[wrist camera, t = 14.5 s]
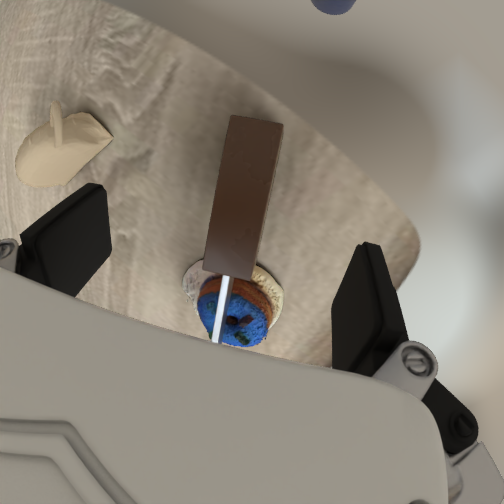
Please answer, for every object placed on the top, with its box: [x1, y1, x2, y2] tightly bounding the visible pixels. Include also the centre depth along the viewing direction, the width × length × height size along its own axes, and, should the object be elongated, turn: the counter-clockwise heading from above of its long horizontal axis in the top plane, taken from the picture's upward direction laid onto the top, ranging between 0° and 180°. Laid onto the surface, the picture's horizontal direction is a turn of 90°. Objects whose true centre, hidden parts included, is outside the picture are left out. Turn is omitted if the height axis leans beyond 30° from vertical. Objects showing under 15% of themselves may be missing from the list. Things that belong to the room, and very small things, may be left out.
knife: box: [202, 115, 284, 344], centre depth 17 cm, size 19×3×3 cm, turn 171°
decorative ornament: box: [15, 101, 113, 188], centre depth 16 cm, size 4×8×5 cm, turn 119°
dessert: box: [182, 260, 284, 347], centre depth 23 cm, size 8×7×6 cm
